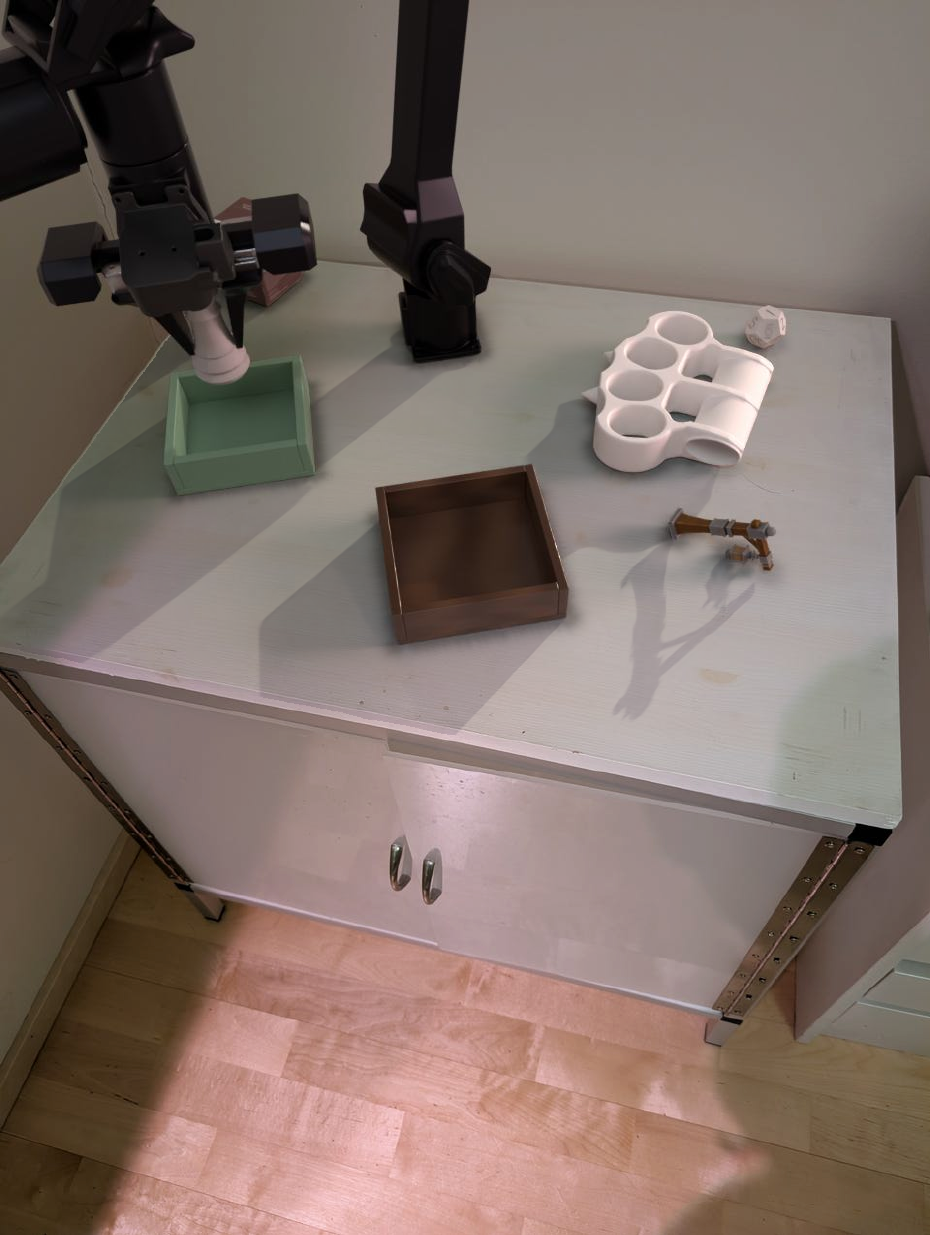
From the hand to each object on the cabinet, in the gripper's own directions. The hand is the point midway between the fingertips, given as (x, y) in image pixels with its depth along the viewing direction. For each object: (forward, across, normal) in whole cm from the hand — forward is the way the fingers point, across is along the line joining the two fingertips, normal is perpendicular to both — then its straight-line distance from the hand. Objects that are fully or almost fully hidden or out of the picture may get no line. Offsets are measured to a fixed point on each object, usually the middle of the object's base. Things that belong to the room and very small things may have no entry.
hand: (216, 348), depth 66 cm
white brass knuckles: (+10, +37, -4) cm, 38 cm away
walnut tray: (+10, +17, -18) cm, 26 cm away
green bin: (+9, 0, 0) cm, 9 cm away
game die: (+10, +48, +3) cm, 49 cm away
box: (+10, +2, +23) cm, 25 cm away
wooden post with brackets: (+10, +36, -20) cm, 42 cm away
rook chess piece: (+2, 0, 0) cm, 2 cm away
